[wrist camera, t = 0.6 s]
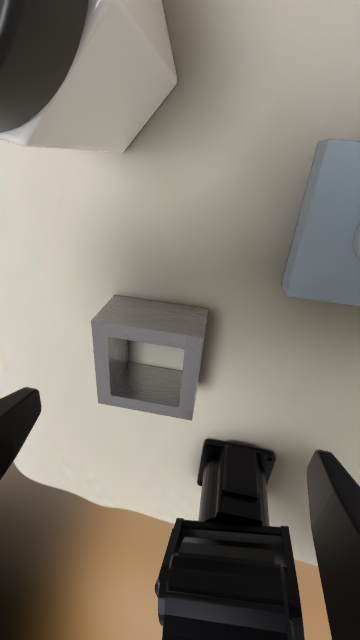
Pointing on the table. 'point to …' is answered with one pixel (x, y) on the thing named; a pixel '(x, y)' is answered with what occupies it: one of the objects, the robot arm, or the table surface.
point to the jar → (82, 71)
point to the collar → (143, 380)
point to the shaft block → (328, 229)
